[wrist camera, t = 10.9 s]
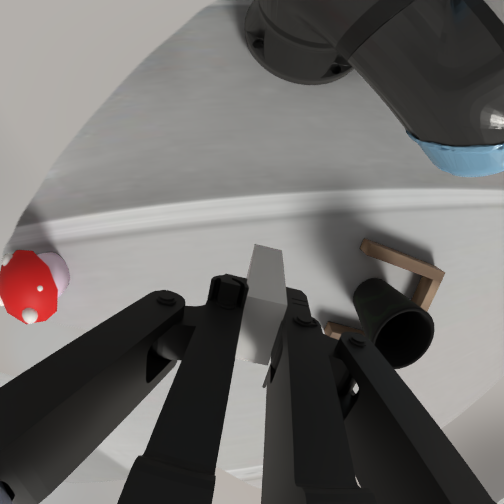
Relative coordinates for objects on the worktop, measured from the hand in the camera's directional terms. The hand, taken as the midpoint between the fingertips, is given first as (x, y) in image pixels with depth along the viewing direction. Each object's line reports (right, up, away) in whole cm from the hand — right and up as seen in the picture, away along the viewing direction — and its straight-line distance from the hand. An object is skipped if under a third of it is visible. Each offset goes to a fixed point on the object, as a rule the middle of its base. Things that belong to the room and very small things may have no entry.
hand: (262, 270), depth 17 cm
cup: (+16, -5, +23) cm, 29 cm away
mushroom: (-31, -2, +24) cm, 40 cm away
